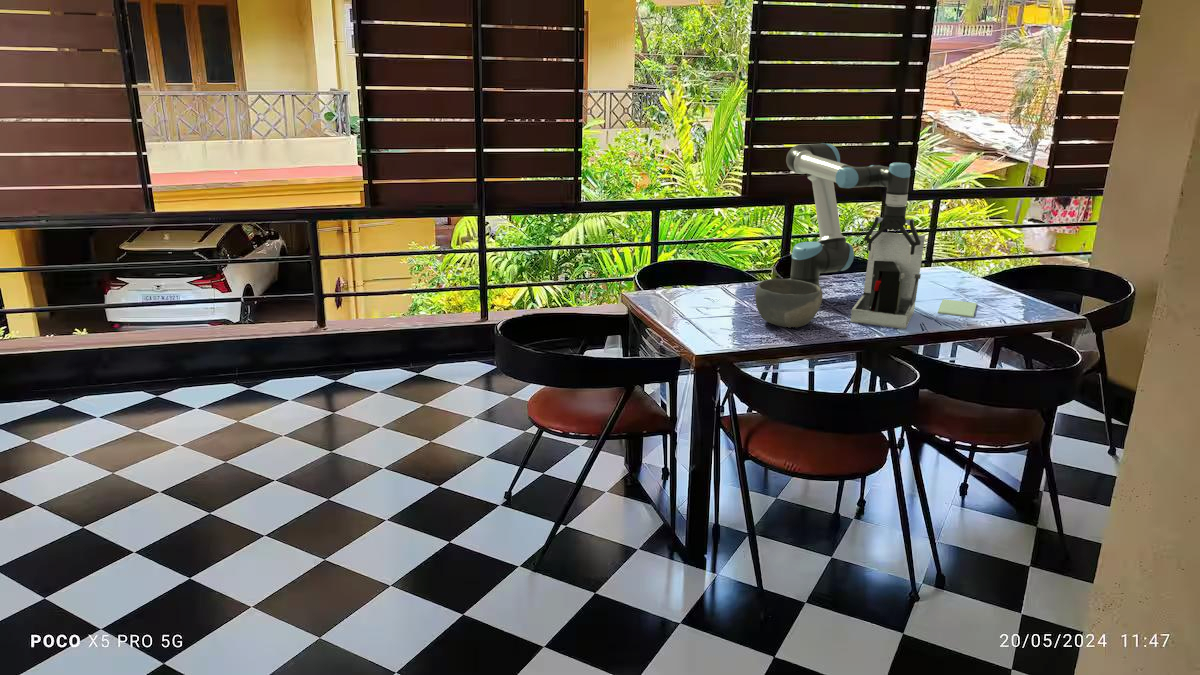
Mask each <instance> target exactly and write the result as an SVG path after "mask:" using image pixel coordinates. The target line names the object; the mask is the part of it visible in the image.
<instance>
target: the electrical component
mask: <svg viewBox="0 0 1200 675" xmlns="http://www.w3.org/2000/svg"><path fill="white" fill-rule="evenodd" d="M903 278H905V275H904V273H901V271H900V265H897V264H896V263H895V262H892V261H874V268H873V277H872V286H871V295H870V304H869V311H875V312H883V313H891V314H897V313H898V311H899V303H900V295H901V287H902V279H903Z"/></svg>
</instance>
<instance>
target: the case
mask: <svg viewBox="0 0 1200 675" xmlns="http://www.w3.org/2000/svg"><path fill="white" fill-rule="evenodd" d="M877 232H878V231H875V230H873V232H872V233H871V235H870V238H872V237H873V236H874V235H875V234H876V233H877ZM908 234H909V233H908ZM909 235H910V236H911V238H912V239H913V241H914V242H916V241H915V239H914V236H913V234H909ZM918 236H919V239H920V241H921V243H920V245H916V246H915V251H914V254H913V255H911V259H910V263H909V264H907V260H908V251H909V246H910V245H911V244H910V243H909V242H908V240H907V239H906V237H905V236H904V235H903V233H897V232H896V233H895V232H886V231H885V232H884V231H883V232H882V233H881V234H880V235H879V236H878V237H876V238H875V239H874V240H873V242H875V244H874V253H873V259H872V260H870V253H871V251H868V256H867V258H868V259H867V265H866V272H865V281H864V286H863V293H862V295H861V297H860V298H859V299H858V300H857V301H856V303H855V304H854V306H853V307H852V308H851V312H850V323H855V324H856V323H857V324H863V325H873V326H879V327H888V328H894V329H902V330H906V329H907V328H908V325H909V323H910V321H911V318H912V317H913V315H914V313H915V306H916V301H917V293H918V286H919V282H920V281H919V280H920V279H921V277H922V274H921V266H922V260H923V252H924V246H925V239H926V235H919V234H918ZM874 261H892V262H895V263H896V264H897V265H900V271H901V273H904V275H905V278H903V279H902V287H901V295H900V303H899V311H898V313H897V314H891V313H883V312H875V311H869V304H870V295H871V286H872V277H873V268H874Z"/></svg>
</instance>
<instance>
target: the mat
mask: <svg viewBox="0 0 1200 675" xmlns="http://www.w3.org/2000/svg"><path fill="white" fill-rule="evenodd" d="M977 305H978V303H977V302H969V301H962V300H961V301H960V300H954V299H953V300H952V299H945V298H944V299H943V298H942V300H941V302H940V306H939V307H938V310H937V314H940V315H941V314H942V315H950V316H958V317H963V318H964V317H965V318H974V316H975V312H976V308H977Z"/></svg>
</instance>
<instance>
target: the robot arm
mask: <svg viewBox="0 0 1200 675" xmlns="http://www.w3.org/2000/svg"><path fill="white" fill-rule="evenodd" d="M785 162H786V165H787V168H788V169H789V170H790V171H792V172H793V173H797V174H799V175H805V174H806V175H807V176H806V177H807V179H808V180H809V181H810V182H811V184H812V185H811V186H812V191H813V198H814V203H815V204H814V205H815V206H814V207H815V213H816V219H817V225H818V232H819V238H818V240H817V241H813V240H812V241H803V242H799V243H796V244H795V245H794V246H793V248H792V253H791V266H790V277H789V279H793V280H800V281H805V282H809V283H813V284H816V285H818V286H819V287H820V288H821V285H820V274H826V273H838V272H844V271H846V270H848V269H849V268H850V267H851V265H852V264H853V262H854V258H855V250H854V248H853V246H852V244H851V243H849V242H847V241H846V236H844V235H843V234H842V231H841V224H840V216H839V211H838V204H837V198H836V191H835V184H836V185H837V186H838V187H839V188H841V189H852V188H853V189H854V188H867V187H870V188H872V187H881V188H882V187H883V188H886V194H885V195H886V196H885V206H884V216H883V217H880V216H877V215H876V217H875V218H874V221H873V223H872V226H871V227H870V229H869V230H868V231H867V233H866V235H865V236H864V238H863V241H865V242H867V243H868V246H867V251H868V252H869V251H871V253H870V260H872V259H873V253H874V244H875V242H873V240H874V239H875V238H876V237H878V236H879V235H880V234H881V233H882V232H884V231H885V230H886V229H887V230H888V231H896V232H897V231H900V233H901V234H903V235H904V236H905V237H906V239H907V240H908V242H909V243H910V244H911V245H910V246H909V251H908V260H907V264H909V263H910V259H911V255H913V254H914V251H915V246H916V245H920V243H921V241H920V239H919V236H918V235H919V234H918V232H917V229H916V227H915V220H914V219H913V218H911V219H906V213H907V206H906V205H907V204H908V196H909V194H908V193H909V189H910V188H909V186H910V177H911V165H910V163H907V162H892V163H890V164H889V166H886V165H885V166H884V165H881V164H871V165H869V166H853V165H849V164H846V163H843V162H841V154H840V152H839V150H838V148H837V147H836V146H834V145H833V144H832V143H824V142H821V143H801V144H797V145H794V146H793V147H791V148H790V150H789V151H788V152H787V154H786V159H785ZM834 183H835V184H834ZM881 222H882V224H883V226H882V227H881V228H880V229H879V230H878V231H876V232H877V233H876V234H875V235H874V236H873V237H872V238H871V235H872V232H873V231H875V229H876V227H877V226H878V224H880V223H881ZM906 224H907V226H909V228H910V230H911V231H910V232H911V234H910V235H913V236H914V239H915V241H916V242H914V241H913V239H912V238H911V236H910V235H909V233H908V231H907V229H906V228H905V227H904V225H906Z"/></svg>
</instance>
